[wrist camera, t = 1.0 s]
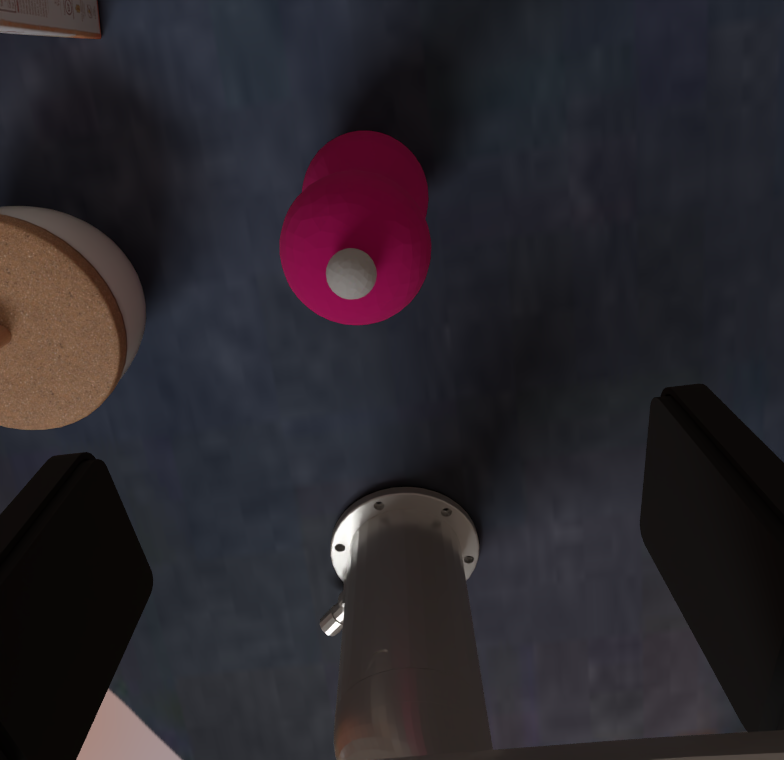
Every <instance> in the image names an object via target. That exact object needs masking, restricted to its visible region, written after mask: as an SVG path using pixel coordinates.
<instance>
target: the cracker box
mask: <svg viewBox="0 0 784 760" xmlns="http://www.w3.org/2000/svg"><path fill="white" fill-rule="evenodd" d="M0 33H10V34H24V35H39V36H54V37H70V38H89V39H101V29H100V20H99V10H98V1H97V0H0Z"/></svg>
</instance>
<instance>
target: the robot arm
mask: <svg viewBox="0 0 784 760" xmlns="http://www.w3.org/2000/svg"><path fill="white" fill-rule="evenodd" d="M640 530H641V535H642V538H643V542H644V544H645V546H646V548H647V550H648V551H649V553H650V555H651V557H652V559H653V561H654V563H655V564H656V566H657V568H658V570H659V572H660V574H661V575H662V577H663V579H664V581H665V583H666V585H667V586H668V588H669V590H670V592H671V594H672V596H673V598H674V599H675V601H676V603H677V605H678V607H679V609H680V610H681V612H682V614H683V616H684V618H685V620H686V622H687V623H688V625H689V627H690V629H691V631H692V633H693V634H694V636H695V638H696V640H697V642H698V644H699V645H700V647H701V649H702V651H703V653H704V655H705V657H706V658H707V660H708V662H709V664H710V666H711V668H712V669H713V671H714V673H715V675H716V677H717V679H718V681H719V682H720V684H721V686H722V688H723V690H724V692H725V693H726V695H727V697H728V699H729V701H730V703H731V704H732V706H733V708H734V710H735V712H736V714H737V716H738V717H739V719H740V721H741V723H742V724H743V726H744V728H745V729H746V730H747V731H748V732H742V733H725V734H708V735H691V736H674V737H657V738H642V739H629V740H616V741H603V742H590V743H577V744H563V745H550V746H537V747H524V748H511V749H498V750H493V747H492V741H491V735H490V729H489V722H488V716H487V710H486V705H485V698H484V692H483V685H482V679H481V673H480V666H479V660H478V654H477V647H476V641H475V635H474V628H473V622H472V616H471V609H470V603H469V597H468V590H467V584H466V580H467V579H468V578H469V577H470V576H471V574H472V572H473V570H474V569H475V567H476V564H477V560H478V557H479V541H478V535H477V532H476V528H475V525H474V523H473V521H472V520H471V518H470V516H469V515H468V513H467V512H466V511H465V510H464V509H463V508H462V507H461V506H460V505H459V504H457V503H456V502H455V501H453V500H452V499H450V498H449V497H447V496H444V495H442V494H440V493H438V492H435V491H431V490H427V489H424V488H415V487H394V488H389V489H384V490H379V491H377V492H374V493H371V494H369V495H366V496H364V497H363V498H361V499H359V500H358V501H356V502H355V503H353V504H352V505H351V506H350V507H349V508H348V509H347V510H345V511H344V513H343V514H342V515H341V517H340V518H339V520H338V521H337V523H336V526H335V528H334V530H333V534H332V540H331V553H330V555H331V559H332V564H333V567H334V569H335V571H336V573H337V575H338V576H339V577H340V579H341V580H342V581H343V583H344V587H343V591H342V592H341V593H340V595H339V597H338V603H337V604H336V605H334V606H333V607H332V608H331V609H330V610H329V611H328V612H327V613H326V614H325V615H324V616H323V617H322V618H321V619H320V626H321V629H322V630H323V631H324V633H326V634H327V635H329V636H335V635H336V634H337V633H338V632H339V631H340V630H342V642H341V654H340V666H339V678H338V690H337V703H336V712H335V724H334V748H335V756H336V760H784V463H783V462H782V461H781V460H780V459H779V458H778V457H777V456H776V455H775V454H774V453H773V452H772V451H771V450H770V449H769V448H768V447H767V446H766V445H765V444H764V443H763V442H762V441H761V440H760V439H759V438H758V437H757V436H756V435H755V434H754V433H753V432H752V431H751V430H750V429H749V428H748V427H747V426H746V425H745V424H744V423H743V422H742V421H741V420H740V419H739V418H738V417H737V416H736V415H735V414H734V413H733V412H732V411H731V410H730V409H729V408H728V407H727V406H726V405H725V404H724V403H723V402H722V401H721V400H720V399H719V398H718V397H717V396H716V395H715V394H714V393H713V392H712V391H711V390H710V389H709V388H708V387H707V386H705V385H704V384H693V385H684V386H675V387H666V388H665V389H664V390H663V391H662V393H661V397H655V398H653V399H652V402H651V406H650V416H649V427H648V438H647V449H646V460H645V472H644V483H643V494H642V505H641V516H640ZM152 587H153V575H152V571H151V569H150V566H149V564H148V562H147V559H146V557H145V555H144V552H143V550H142V548H141V545H140V543H139V541H138V538H137V536H136V534H135V531H134V529H133V527H132V524H131V522H130V520H129V517H128V515H127V513H126V510H125V508H124V506H123V503H122V501H121V499H120V496H119V494H118V492H117V489H116V487H115V485H114V482H113V480H112V478H111V475H110V473H109V471H108V468H107V466H106V465H105V463H104V462H103V461H102V460H99V459H96V458H95V457H94V456H93V455H92V454H91V453H87V452H84V453H75V454H66V455H57V456H53V457H51V458H50V459H48V460H47V462H46V463H45V464H44V465H43V466H42V467H41V468H40V470H39V471H38V472H37V473H36V474H35V475H34V477H33V478H32V479H31V480H30V481H29V482H28V483H27V485H26V486H25V487H24V488H23V489H22V490H21V491H20V493H19V494H18V495H17V496H16V497H15V498H14V500H13V501H12V502H11V503H10V504H9V505H8V506H7V508H6V509H5V510H4V511H3V512H2V513H1V515H0V760H76V758H77V757H78V754H79V752H80V750H81V748H82V745H83V743H84V741H85V739H86V737H87V734H88V732H89V730H90V728H91V725H92V723H93V721H94V719H95V717H96V714H97V712H98V710H99V707H100V705H101V703H102V701H103V699H104V697H105V694H106V692H107V690H108V688H109V685H110V683H111V681H112V679H113V677H114V674H115V672H116V670H117V668H118V665H119V663H120V661H121V659H122V657H123V654H124V652H125V650H126V648H127V645H128V643H129V641H130V639H131V637H132V634H133V632H134V630H135V628H136V625H137V623H138V621H139V619H140V617H141V614H142V612H143V610H144V608H145V605H146V603H147V601H148V599H149V597H150V594H151V591H152Z"/></svg>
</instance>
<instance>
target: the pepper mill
mask: <svg viewBox="0 0 784 760" xmlns="http://www.w3.org/2000/svg"><path fill="white" fill-rule="evenodd" d="M427 208H428V185H427V181H426V178H425V174H424V171H423V169H422V167H421V165H420V163H419V162H418V160H417V159H416V157H415V156H414V154H413V153H412V152H411V151H410V150H409V149H408V148H407V147H406V146H405V145H403V144H402V143H401V142H400V141H398V140H396V139H394V138H393V137H391V136H389V135H386V134H383V133H380V132H375V131H354V132H348V133H346V134H343V135H340V136H338V137H336V138H335V139H333V140H331V141H329V142H328V143H327V144H326V145H325V146H323V147H322V148H321V149H320V150H319V151H318V153H317V154H316V155H315V157H314V158H313V159H312V161H311V163H310V165H309V167H308V169H307V172H306V175H305V178H304V182H303V187H302V193H301V194H300V195H299V196H298V197H297V198H296V199H295V201H294V202H293V204H292V205H291V207H290V208H289V210H288V212H287V215H286V217H285V219H284V223H283V227H282V231H281V236H280V258H281V263H282V268H283V271H284V273H285V276H286V279H287V281H288V283H289V286H290V287H291V289H292V290H293V292H294V293H295V294H296V296H297V297H298V298H299V299H300V300H301V301H302V302H303V303H304V304H305V305H306V306H307V307H308V308H309V309H311V310H312V311H313V312H315V313H316V314H318V315H320V316H322V317H324V318H326V319H328V320H330V321H334V322H338V323H341V324H347V325H366V324H372V323H376V322H380V321H383V320H385V319H387V318H389V317H391V316H393V315H395V314H396V313H398V312H400V311H401V310H402V309H403V308H404V307H405V306H407V305H408V304H409V303H410V302H411V301H412V300H413V298H414V297H415V296H416V295H417V293H418V292H419V290H420V288H421V286H422V284H423V282H424V280H425V278H426V275H427V271H428V268H429V264H430V259H431V239H430V233H429V229H428V225H427V222H426V220H425V218H426V214H427Z"/></svg>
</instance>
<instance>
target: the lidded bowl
mask: <svg viewBox="0 0 784 760" xmlns="http://www.w3.org/2000/svg"><path fill="white" fill-rule="evenodd" d="M145 323H146V305H145V297H144V293H143V288H142V285H141V282H140V280H139V277H138V275H137V273H136V271H135V269H134V267H133V265H132V264H131V262H130V261H129V259H128V258H127V257H126V255H125V254H124V253H123V251H122V250H121V249H120V248H119V247H118V246H117V245H116V244H115V243H114V242H113V241H112V240H111V239H110V238H109V237H107V236H106V235H105V234H104V233H102V232H101V231H100V230H98V229H97V228H95V227H94V226H92V225H90V224H89V223H87V222H85V221H83V220H80V219H78V218H76V217H74V216H71V215H69V214H66V213H63V212H59V211H56V210H53V209H47V208H40V207H32V206H4V207H0V426H4V427H9V428H16V429H24V430H45V429H51V428H58V427H62V426H65V425H68V424H71V423H75V422H77V421H78V420H80V419H82V418H84V417H86V416H88V415H89V414H91V413H92V412H93V411H94V410H96V409H97V408H98V407H99V406H100V405H101V404H102V403H103V402H104V401H105V400H106V398H107V397H108V396H109V395H110V394H111V393H112V391H113V390H114V388H115V387H116V385H117V383H118V381H119V380H120V379H121V378H122V376H123V375H124V374H125V372H126V371H127V370H128V368H129V366H130V364H131V363H132V361H133V359H134V357H135V355H136V354H137V352H138V349H139V346H140V343H141V340H142V337H143V334H144V330H145Z"/></svg>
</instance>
